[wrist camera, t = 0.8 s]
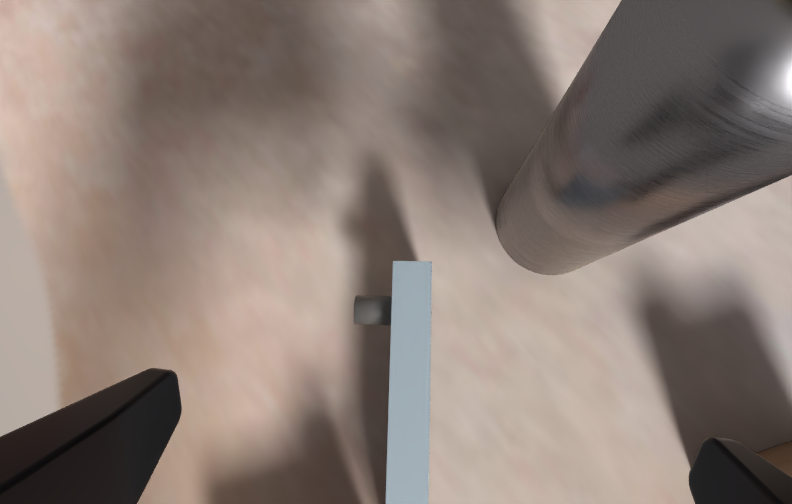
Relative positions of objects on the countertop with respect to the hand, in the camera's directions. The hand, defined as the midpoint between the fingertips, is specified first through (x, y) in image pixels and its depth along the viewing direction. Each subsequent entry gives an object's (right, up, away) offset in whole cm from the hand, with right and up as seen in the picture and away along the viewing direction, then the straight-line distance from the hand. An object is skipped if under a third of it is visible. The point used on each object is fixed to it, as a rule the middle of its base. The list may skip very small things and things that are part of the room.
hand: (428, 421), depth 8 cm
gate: (-1, -5, +12) cm, 13 cm away
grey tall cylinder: (+7, +4, +14) cm, 16 cm away
